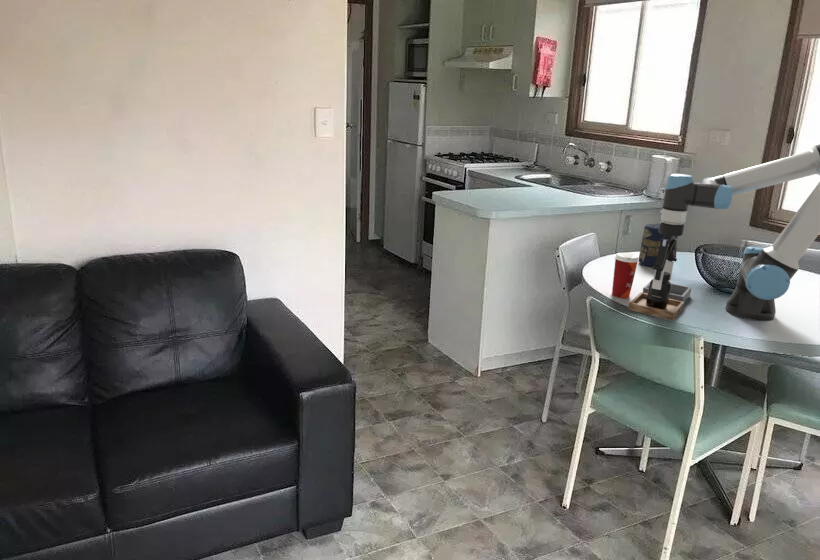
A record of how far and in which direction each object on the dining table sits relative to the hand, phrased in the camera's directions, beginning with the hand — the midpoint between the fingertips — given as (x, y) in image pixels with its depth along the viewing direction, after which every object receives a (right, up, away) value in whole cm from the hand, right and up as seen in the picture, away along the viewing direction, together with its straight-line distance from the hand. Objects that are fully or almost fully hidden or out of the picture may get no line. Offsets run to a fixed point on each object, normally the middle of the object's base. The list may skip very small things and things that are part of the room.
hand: (661, 284), depth 213 cm
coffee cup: (-9, -4, +15) cm, 18 cm away
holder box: (+8, -5, +16) cm, 19 cm away
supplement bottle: (-1, -8, +3) cm, 8 cm away
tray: (-1, -9, +3) cm, 9 cm away
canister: (+17, +8, +56) cm, 60 cm away
